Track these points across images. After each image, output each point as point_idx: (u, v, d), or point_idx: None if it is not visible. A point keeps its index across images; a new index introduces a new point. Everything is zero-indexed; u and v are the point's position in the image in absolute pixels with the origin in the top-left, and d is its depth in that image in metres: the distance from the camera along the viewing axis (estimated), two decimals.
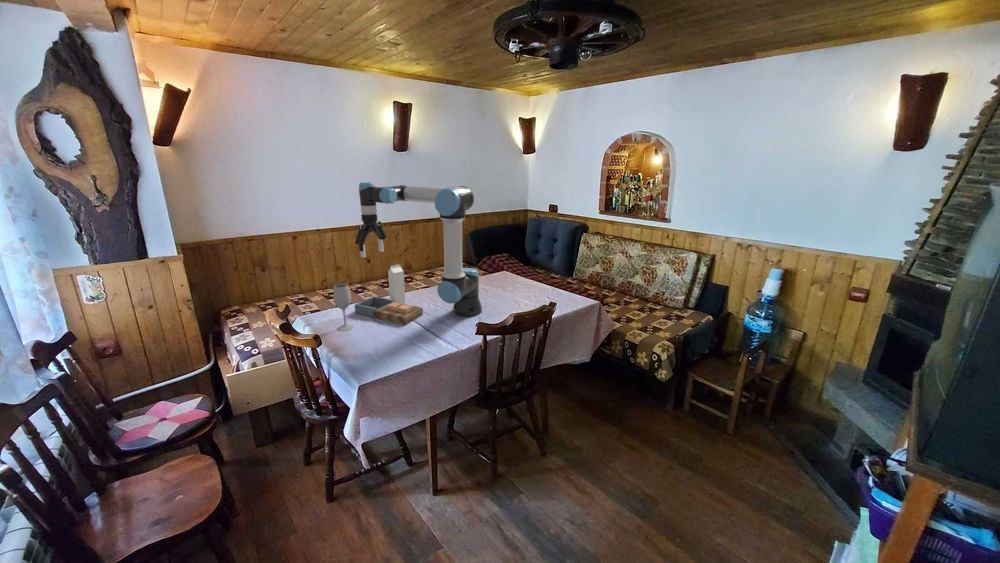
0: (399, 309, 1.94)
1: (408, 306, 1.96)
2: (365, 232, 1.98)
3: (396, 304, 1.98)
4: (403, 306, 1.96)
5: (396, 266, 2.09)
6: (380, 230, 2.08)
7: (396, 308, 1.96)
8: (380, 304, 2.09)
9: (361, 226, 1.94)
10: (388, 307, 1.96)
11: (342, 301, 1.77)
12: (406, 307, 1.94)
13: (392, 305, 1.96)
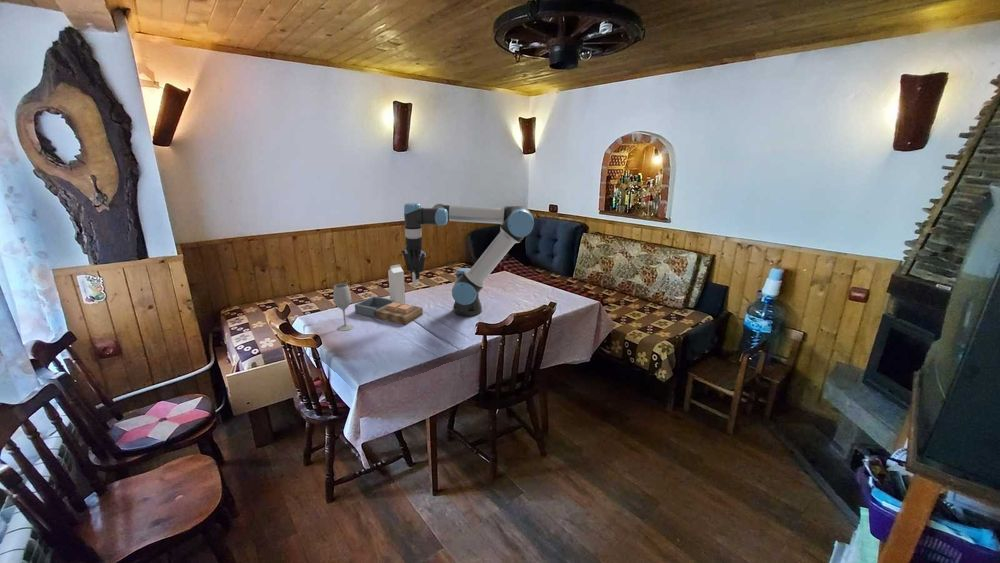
0: (399, 309, 1.94)
1: (408, 306, 1.96)
2: None
3: (396, 304, 1.98)
4: (403, 306, 1.96)
5: (396, 266, 2.09)
6: None
7: (396, 308, 1.96)
8: (380, 304, 2.09)
9: None
10: (388, 307, 1.96)
11: (342, 301, 1.77)
12: (406, 307, 1.94)
13: (392, 305, 1.96)
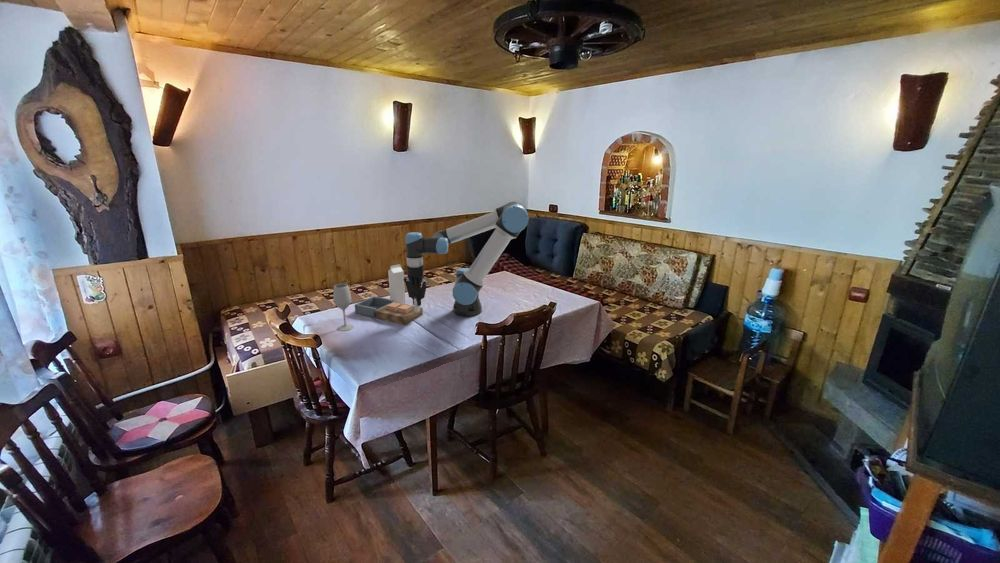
0: (399, 309, 1.94)
1: (408, 306, 1.96)
2: None
3: (396, 304, 1.98)
4: (403, 306, 1.96)
5: (396, 266, 2.09)
6: None
7: (396, 308, 1.96)
8: (380, 304, 2.09)
9: None
10: (388, 307, 1.96)
11: (342, 301, 1.77)
12: (406, 307, 1.94)
13: (392, 305, 1.96)
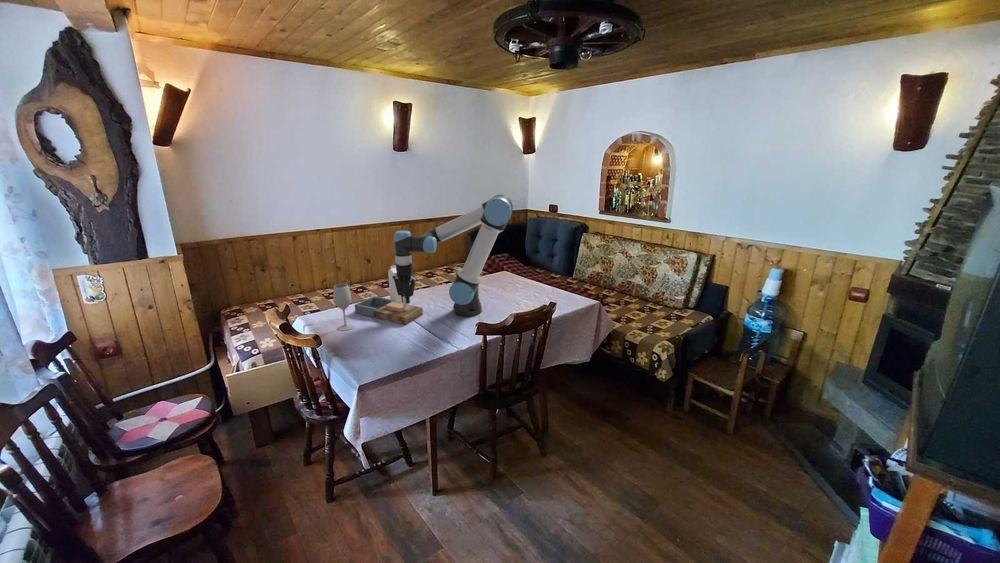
0: (395, 308, 1.95)
1: None
2: None
3: (395, 304, 1.98)
4: (399, 305, 1.96)
5: None
6: None
7: None
8: (380, 304, 2.09)
9: None
10: (387, 307, 1.97)
11: (342, 301, 1.77)
12: (402, 306, 1.95)
13: (391, 305, 1.96)
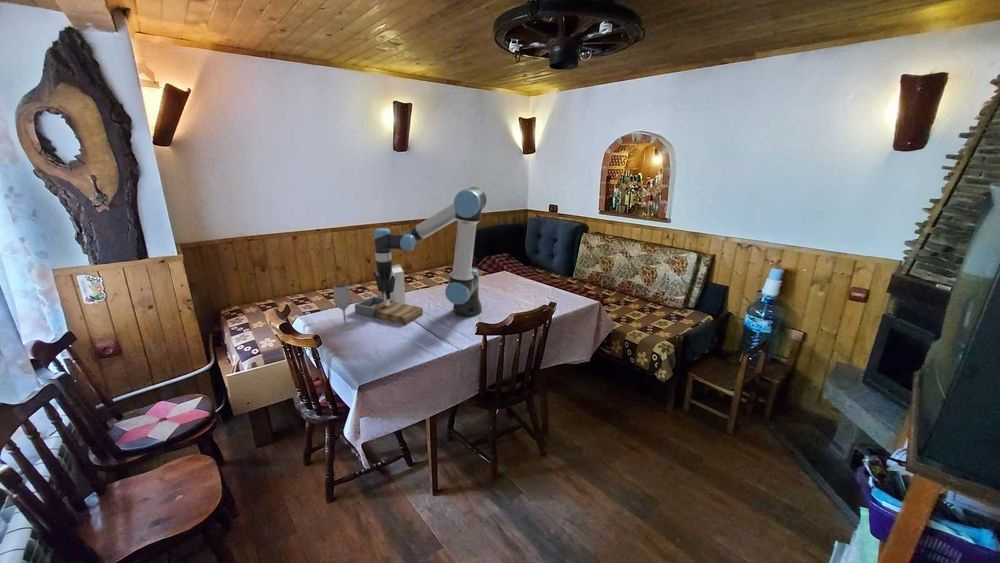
0: (376, 306, 2.00)
1: None
2: None
3: None
4: None
5: (396, 266, 2.09)
6: None
7: None
8: None
9: None
10: None
11: (342, 301, 1.77)
12: (382, 302, 2.00)
13: None
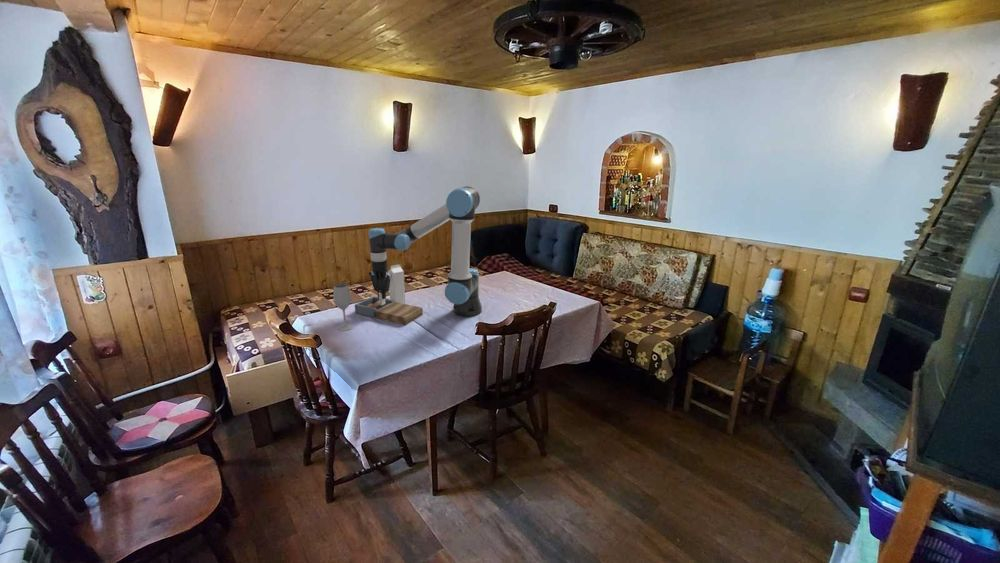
0: (372, 306, 2.01)
1: None
2: None
3: None
4: None
5: (396, 266, 2.09)
6: None
7: None
8: None
9: None
10: None
11: (342, 301, 1.77)
12: None
13: None
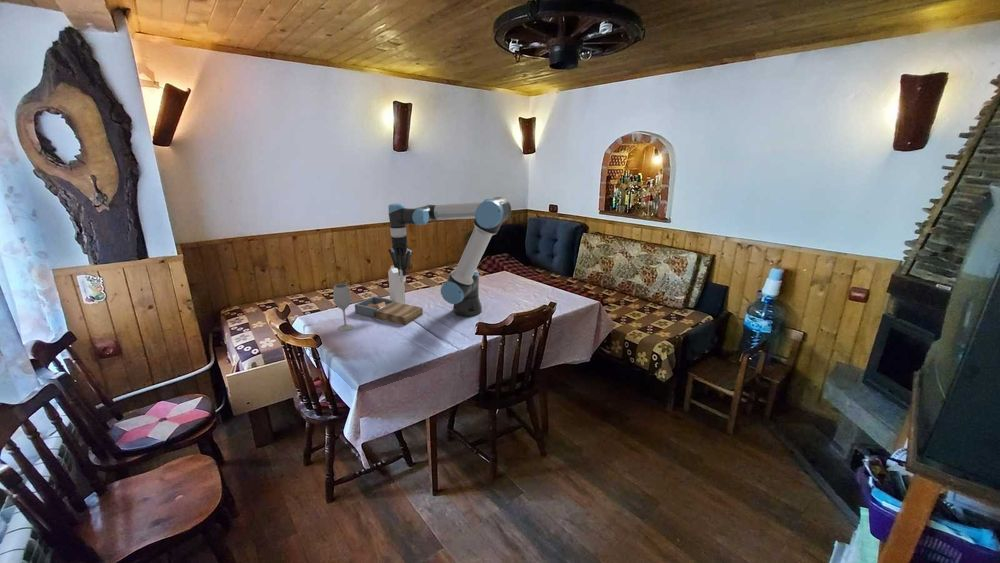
0: (373, 307, 2.01)
1: (381, 302, 2.03)
2: None
3: None
4: (376, 304, 2.03)
5: None
6: None
7: None
8: None
9: None
10: None
11: (342, 301, 1.77)
12: (379, 303, 2.01)
13: None
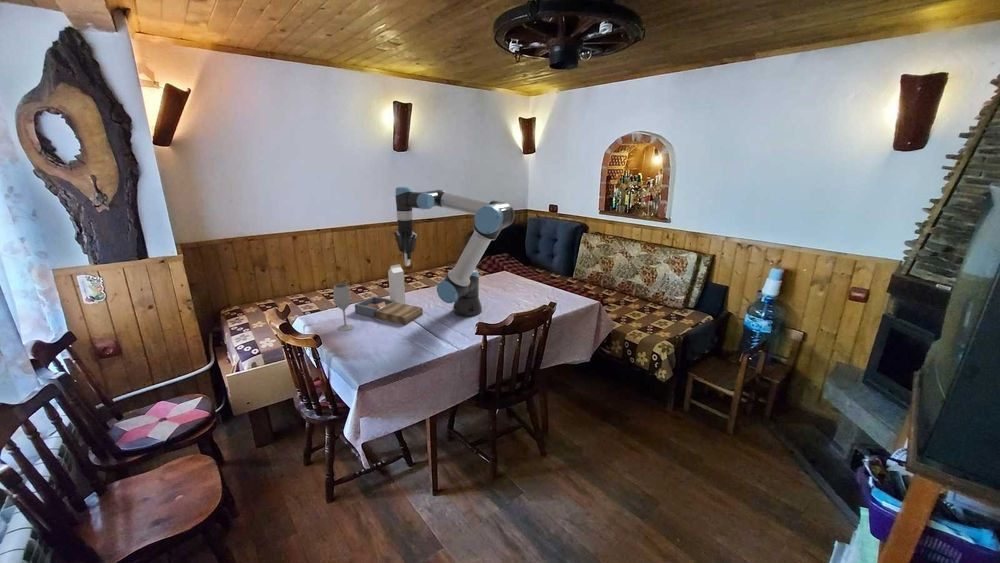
0: (373, 307, 2.01)
1: (381, 302, 2.03)
2: None
3: None
4: (376, 304, 2.03)
5: (396, 266, 2.09)
6: None
7: None
8: None
9: None
10: None
11: (342, 301, 1.77)
12: (379, 303, 2.01)
13: None
